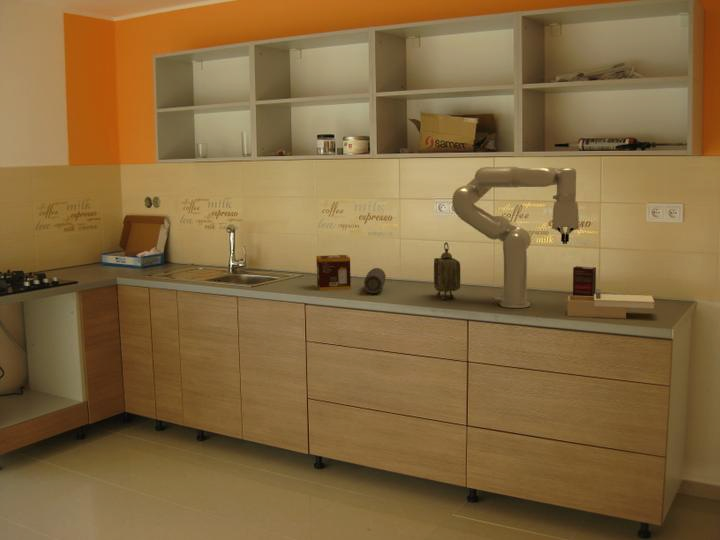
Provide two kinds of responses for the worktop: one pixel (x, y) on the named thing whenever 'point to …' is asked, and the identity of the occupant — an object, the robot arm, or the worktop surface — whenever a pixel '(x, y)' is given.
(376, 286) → the bluetooth speaker
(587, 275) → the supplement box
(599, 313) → the mailer base
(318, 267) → the supplement box
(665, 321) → the worktop surface
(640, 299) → the mailer lid
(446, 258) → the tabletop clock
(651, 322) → the worktop surface
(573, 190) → the robot arm
